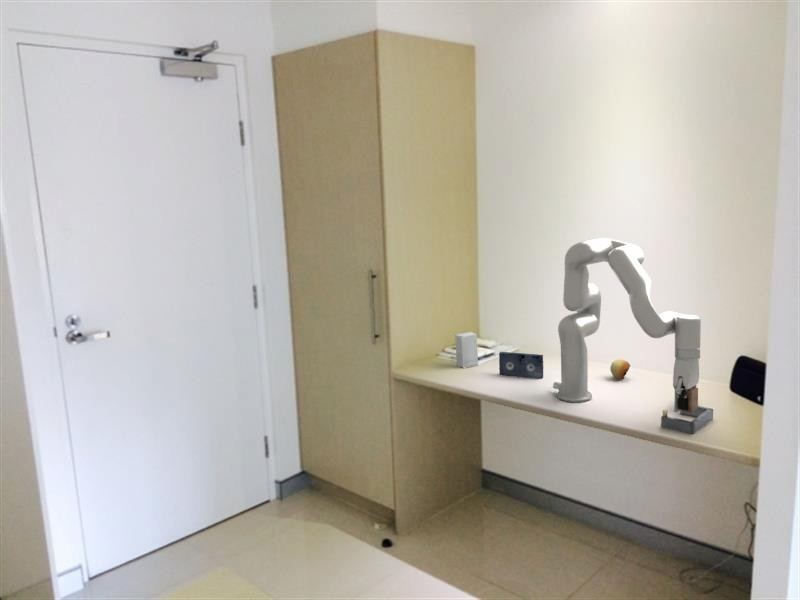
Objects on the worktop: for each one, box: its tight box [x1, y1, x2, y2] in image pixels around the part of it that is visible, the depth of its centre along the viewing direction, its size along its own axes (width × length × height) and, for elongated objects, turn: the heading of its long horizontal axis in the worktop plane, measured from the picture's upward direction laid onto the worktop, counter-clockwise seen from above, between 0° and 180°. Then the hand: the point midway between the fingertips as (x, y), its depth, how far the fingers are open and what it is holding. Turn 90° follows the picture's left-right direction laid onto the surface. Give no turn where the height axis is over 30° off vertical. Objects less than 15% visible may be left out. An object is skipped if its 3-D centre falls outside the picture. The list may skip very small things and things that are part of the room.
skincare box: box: [454, 331, 479, 368], centre depth 289 cm, size 8×6×15 cm
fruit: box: [609, 359, 631, 380], centre depth 259 cm, size 8×8×8 cm
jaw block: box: [676, 385, 699, 413], centre depth 210 cm, size 5×5×8 cm
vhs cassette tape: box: [498, 351, 544, 380], centre depth 269 cm, size 18×3×10 cm, turn 63°
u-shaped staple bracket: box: [660, 405, 714, 435], centre depth 210 cm, size 10×17×6 cm, turn 134°
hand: (686, 406), depth 210 cm, fingers closed on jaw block, 5 cm apart
